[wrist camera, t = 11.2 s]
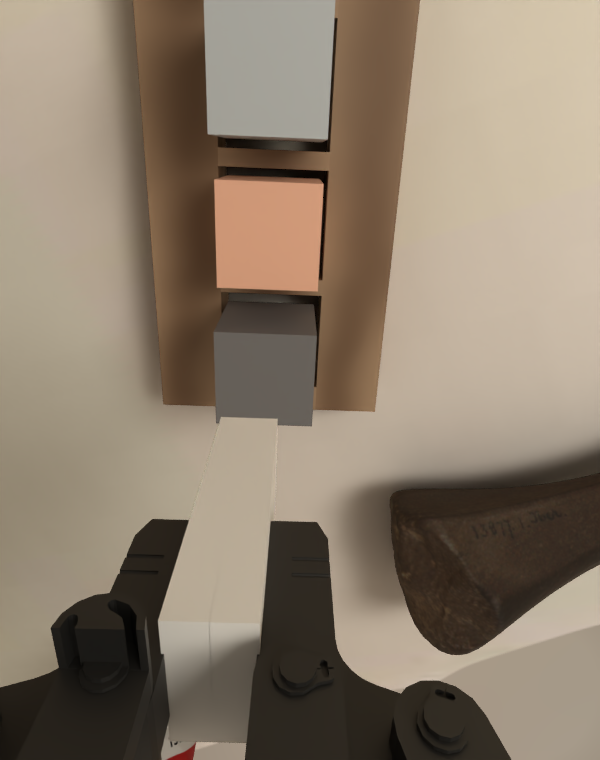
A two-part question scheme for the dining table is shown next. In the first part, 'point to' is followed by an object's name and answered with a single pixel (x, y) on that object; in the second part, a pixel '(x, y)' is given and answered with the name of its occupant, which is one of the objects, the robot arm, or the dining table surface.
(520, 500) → the dark brown bone
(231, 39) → the light grey block
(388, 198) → the wooden block tray
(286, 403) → the dark gray block
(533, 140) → the dining table surface
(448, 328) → the dining table surface
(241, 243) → the key terracotta
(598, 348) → the dining table surface
